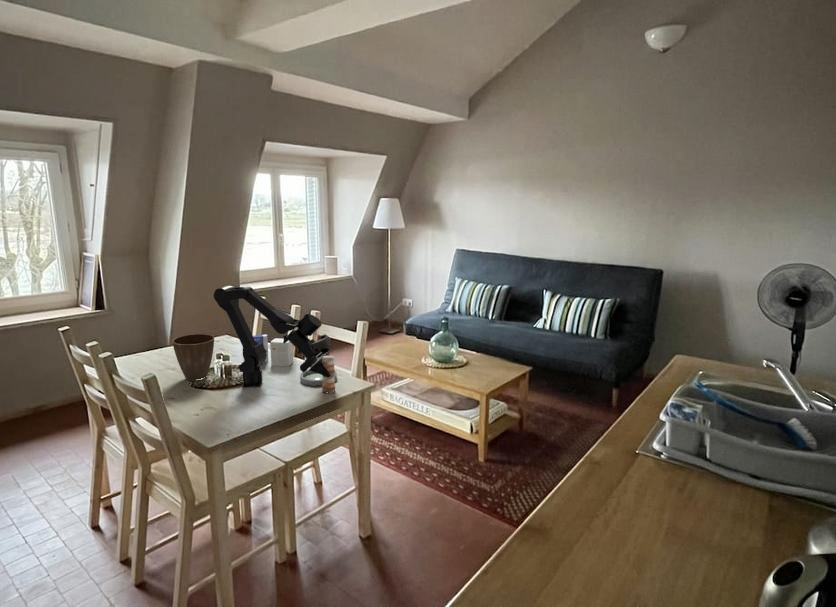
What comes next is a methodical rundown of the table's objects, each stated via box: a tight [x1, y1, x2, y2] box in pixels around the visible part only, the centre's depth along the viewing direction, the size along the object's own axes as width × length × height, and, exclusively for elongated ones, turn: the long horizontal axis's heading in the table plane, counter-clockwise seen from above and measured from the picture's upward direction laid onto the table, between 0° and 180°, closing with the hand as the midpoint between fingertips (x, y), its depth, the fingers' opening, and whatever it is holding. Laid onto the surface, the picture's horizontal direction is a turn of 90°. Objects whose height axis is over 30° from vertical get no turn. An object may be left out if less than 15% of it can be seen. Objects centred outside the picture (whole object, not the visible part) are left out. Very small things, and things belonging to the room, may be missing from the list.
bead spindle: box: [321, 355, 336, 394], centre depth 182 cm, size 5×5×13 cm
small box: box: [269, 338, 294, 367], centre depth 210 cm, size 8×6×10 cm
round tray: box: [299, 369, 338, 386], centre depth 194 cm, size 14×14×2 cm
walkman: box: [252, 334, 269, 363], centre depth 211 cm, size 8×3×12 cm, turn 117°
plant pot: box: [171, 333, 215, 381], centre depth 191 cm, size 15×15×16 cm
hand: (331, 374), depth 181 cm, fingers closed on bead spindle, 4 cm apart
